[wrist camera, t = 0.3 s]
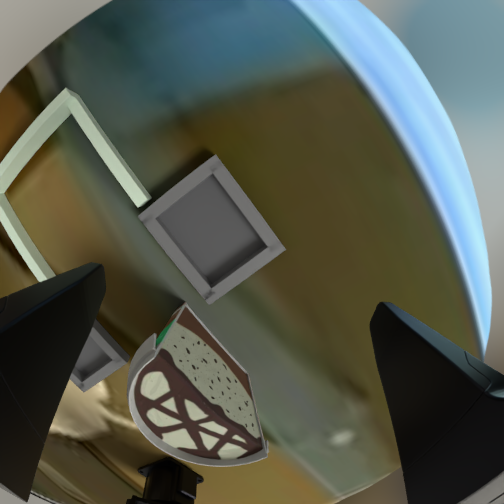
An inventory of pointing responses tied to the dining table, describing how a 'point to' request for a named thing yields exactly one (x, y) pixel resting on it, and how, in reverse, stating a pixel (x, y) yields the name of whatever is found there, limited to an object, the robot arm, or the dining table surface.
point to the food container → (194, 396)
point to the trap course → (152, 226)
